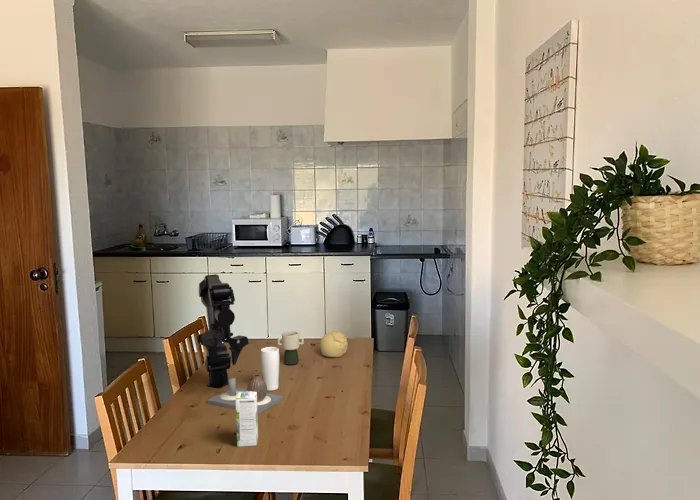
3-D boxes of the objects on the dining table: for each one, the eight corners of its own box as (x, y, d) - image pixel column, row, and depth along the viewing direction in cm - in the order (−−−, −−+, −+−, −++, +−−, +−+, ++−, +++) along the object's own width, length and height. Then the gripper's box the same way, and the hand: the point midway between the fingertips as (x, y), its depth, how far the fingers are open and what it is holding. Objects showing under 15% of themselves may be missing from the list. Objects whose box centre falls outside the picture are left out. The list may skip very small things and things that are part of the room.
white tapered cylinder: (277, 392, 208) (275, 352, 206) (259, 391, 209) (257, 351, 207) (283, 385, 214) (281, 347, 213) (265, 385, 216) (264, 346, 214)
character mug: (304, 360, 245) (303, 330, 243) (304, 365, 238) (303, 334, 236) (278, 361, 244) (277, 331, 243) (278, 366, 237) (276, 336, 235)
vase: (271, 397, 199) (270, 372, 198) (261, 404, 193) (260, 379, 192) (253, 395, 202) (252, 371, 201) (243, 402, 195) (242, 377, 194)
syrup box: (239, 438, 171) (236, 391, 169) (259, 437, 171) (256, 390, 170) (236, 447, 165) (234, 398, 164) (257, 446, 166) (255, 397, 164)
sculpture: (347, 359, 245) (347, 334, 244) (319, 359, 245) (318, 335, 244) (348, 351, 256) (347, 328, 255) (321, 352, 256) (320, 328, 255)
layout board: (207, 403, 199) (206, 382, 198) (233, 390, 211) (232, 370, 210) (258, 414, 189) (257, 392, 188) (282, 399, 201) (282, 379, 200)
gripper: (184, 322, 197) (187, 366, 199) (227, 327, 188) (229, 373, 190) (207, 315, 207) (209, 357, 209) (248, 320, 198) (250, 364, 200)
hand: (223, 363), depth 201 cm, fingers open, 9 cm apart
